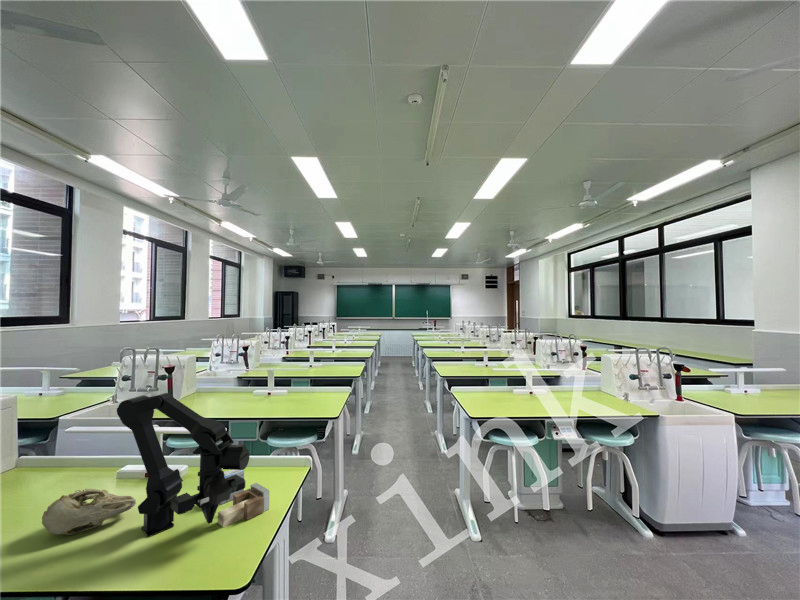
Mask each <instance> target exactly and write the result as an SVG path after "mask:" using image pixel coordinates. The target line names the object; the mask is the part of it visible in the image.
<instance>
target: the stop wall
mask: <svg viewBox="0 0 800 600" xmlns="http://www.w3.org/2000/svg"><path fill="white" fill-rule="evenodd" d="M250 489H252V490H253V491H255V492H257V493H258V494H260V495H262V496H263V497H264V512H266V511H269V509H270V489H268V488H266V487H265V486H262V485H261V484H259V483H258V482H255V483H252V484H250Z"/></svg>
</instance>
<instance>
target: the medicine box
mask: <svg viewBox="0 0 800 600" xmlns="http://www.w3.org/2000/svg"><path fill="white" fill-rule="evenodd" d="M233 475H238V476H240V477H242V478H243V479H245V469H244V470H229V469H227V470H226V471H224V477H225V479H226V478H228V477H231V476H233ZM242 491H245V488H244V489H242V490H239V491H237V492H236V491H235V492H234V493H231V495H230V498H229V499H228V500H225V501H223V502H220V503H219V505H223V504H225V503H226V504H227V503H228V502H230V501H233V495H235V494H237V493H240V492H242Z"/></svg>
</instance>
